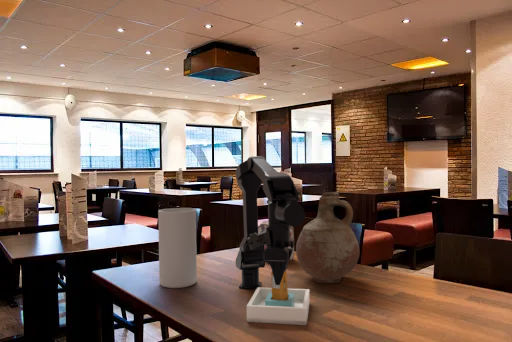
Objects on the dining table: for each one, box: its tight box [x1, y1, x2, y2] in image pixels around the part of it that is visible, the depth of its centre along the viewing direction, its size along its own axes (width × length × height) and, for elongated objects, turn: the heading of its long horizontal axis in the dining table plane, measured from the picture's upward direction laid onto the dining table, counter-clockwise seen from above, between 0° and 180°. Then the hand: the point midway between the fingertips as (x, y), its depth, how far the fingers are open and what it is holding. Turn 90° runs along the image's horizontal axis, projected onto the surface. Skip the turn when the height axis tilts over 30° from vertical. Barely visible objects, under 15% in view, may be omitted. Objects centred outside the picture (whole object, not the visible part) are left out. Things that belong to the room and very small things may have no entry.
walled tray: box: [246, 286, 311, 326], centre depth 107 cm, size 16×15×4 cm
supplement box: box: [270, 270, 289, 300], centre depth 107 cm, size 3×3×10 cm
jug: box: [295, 191, 361, 284], centre depth 137 cm, size 22×22×30 cm
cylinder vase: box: [157, 207, 198, 289], centre depth 136 cm, size 12×12×25 cm
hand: (279, 279), depth 107 cm, fingers open, 9 cm apart
